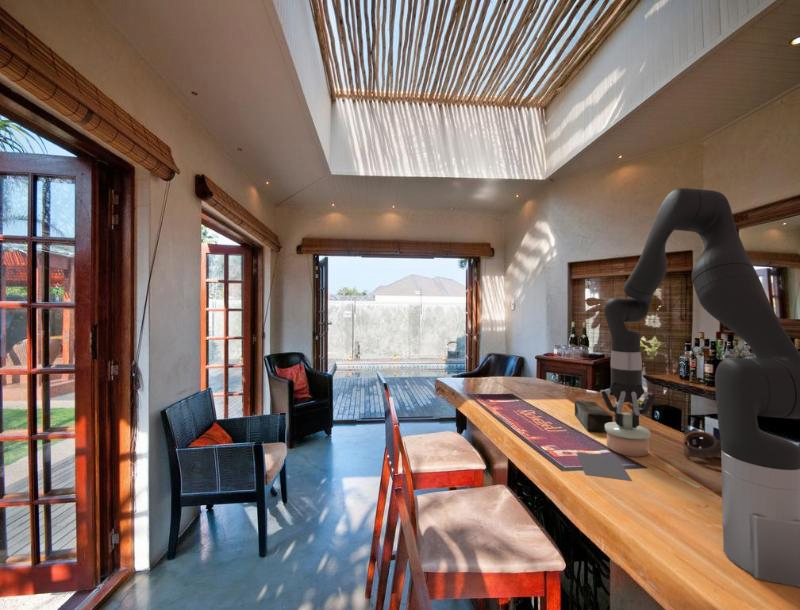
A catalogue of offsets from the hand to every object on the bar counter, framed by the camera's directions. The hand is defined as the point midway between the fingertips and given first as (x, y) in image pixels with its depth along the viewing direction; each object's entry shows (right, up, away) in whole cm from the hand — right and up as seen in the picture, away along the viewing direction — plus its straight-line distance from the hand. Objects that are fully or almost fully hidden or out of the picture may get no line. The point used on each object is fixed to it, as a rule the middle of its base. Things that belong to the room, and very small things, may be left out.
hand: (626, 426), depth 99 cm
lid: (0, -2, 0) cm, 2 cm away
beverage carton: (+4, -8, +25) cm, 26 cm away
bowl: (0, -7, 0) cm, 7 cm away
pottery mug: (+18, -8, -4) cm, 20 cm away
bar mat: (-13, -7, -9) cm, 17 cm away
